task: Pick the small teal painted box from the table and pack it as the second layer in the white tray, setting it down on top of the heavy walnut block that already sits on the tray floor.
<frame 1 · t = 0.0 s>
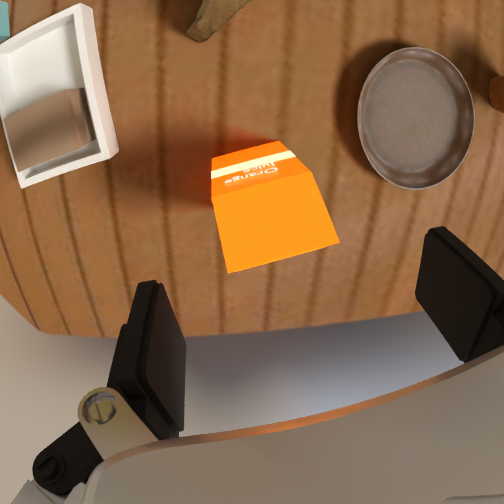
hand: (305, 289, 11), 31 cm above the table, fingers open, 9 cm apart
rock: (216, 4, 29), on the table
white tray: (56, 95, 31), on the table
disposable coffee cup: (497, 93, 36), on the table
orange juice: (252, 175, 41), on the table
walnut block: (59, 124, 32), point 1 cm above the table, touching white tray
plant saucer: (411, 116, 38), on the table
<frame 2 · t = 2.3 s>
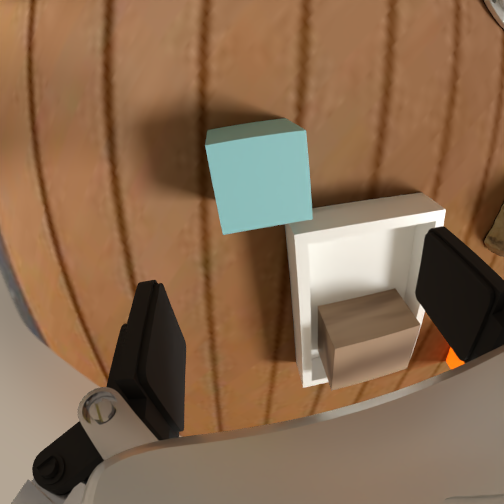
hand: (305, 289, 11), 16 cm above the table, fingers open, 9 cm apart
teal box: (252, 159, 24), on the table
white tray: (355, 288, 32), on the table
orange juice: (469, 337, 42), on the table
walnut block: (355, 320, 34), point 1 cm above the table, touching white tray
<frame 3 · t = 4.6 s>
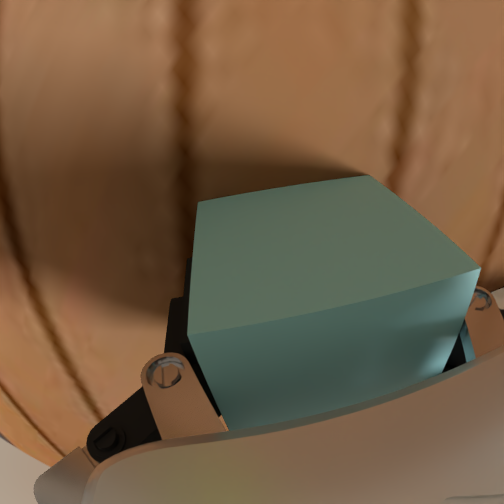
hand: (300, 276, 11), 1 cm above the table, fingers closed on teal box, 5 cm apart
teal box: (294, 261, 12), on the table, touching gripper
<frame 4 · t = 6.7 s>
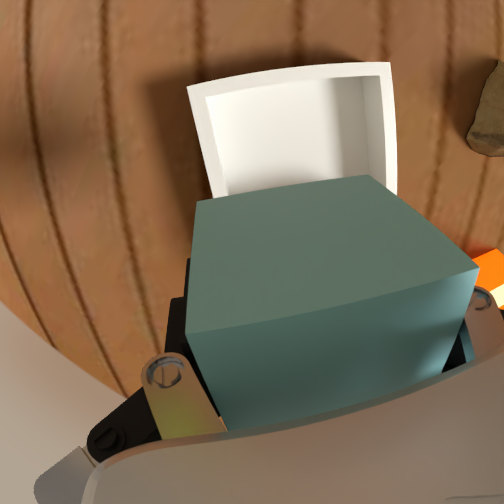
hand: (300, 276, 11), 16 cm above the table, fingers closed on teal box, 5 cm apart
rock: (486, 105, 23), on the table
teal box: (293, 260, 12), point 15 cm above the table, touching gripper
white tray: (300, 186, 26), on the table
orange juice: (470, 279, 35), on the table
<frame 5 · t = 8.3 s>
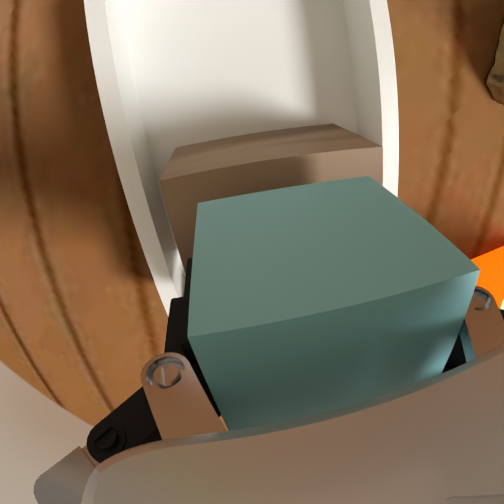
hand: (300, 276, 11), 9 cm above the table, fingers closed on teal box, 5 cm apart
teal box: (294, 262, 12), point 9 cm above the table, touching gripper
white tray: (253, 122, 17), on the table
orange juice: (487, 277, 27), on the table
walnut block: (264, 190, 19), point 1 cm above the table, touching white tray
when the fingers open (9 cm above the table, at t = 9.1 s): teal box drops 2 cm, resting on walnut block.
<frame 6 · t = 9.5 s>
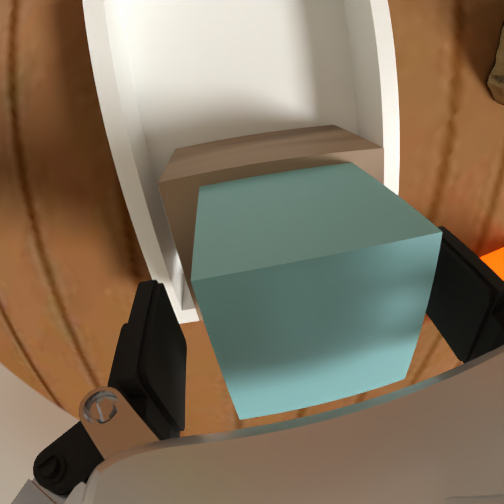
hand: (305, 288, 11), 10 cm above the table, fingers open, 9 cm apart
teal box: (286, 240, 13), point 7 cm above the table, touching walnut block
white tray: (253, 123, 17), on the table
orange juice: (487, 278, 27), on the table
walnut block: (264, 191, 18), point 1 cm above the table, touching white tray, teal box
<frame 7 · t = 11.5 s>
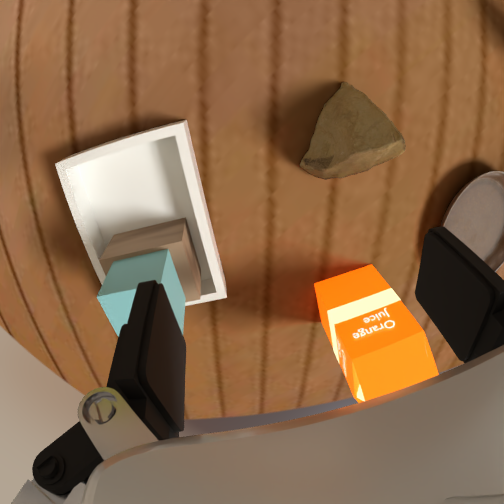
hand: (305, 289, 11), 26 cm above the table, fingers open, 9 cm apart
rock: (328, 130, 33), on the table
teal box: (149, 280, 31), point 7 cm above the table, touching walnut block
white tray: (148, 219, 35), on the table
orange juice: (345, 293, 44), on the table
walnut block: (157, 252, 37), point 1 cm above the table, touching white tray, teal box
plant saucer: (473, 225, 42), on the table
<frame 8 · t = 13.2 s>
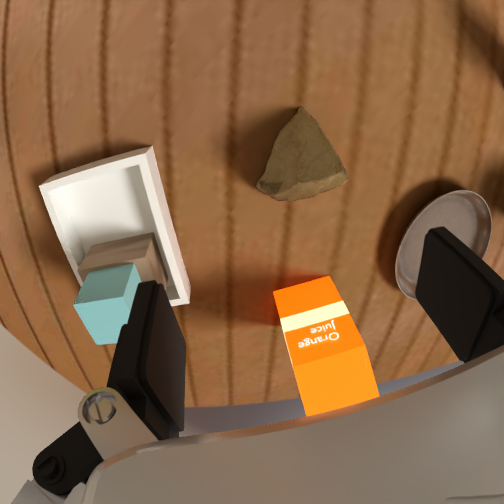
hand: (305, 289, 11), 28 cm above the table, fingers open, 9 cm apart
rock: (284, 153, 37), on the table
teal box: (120, 288, 35), point 7 cm above the table, touching walnut block
white tray: (121, 232, 39), on the table
orange juice: (304, 301, 49), on the table
walnut block: (129, 261, 40), point 1 cm above the table, touching white tray, teal box
plant saucer: (438, 240, 46), on the table
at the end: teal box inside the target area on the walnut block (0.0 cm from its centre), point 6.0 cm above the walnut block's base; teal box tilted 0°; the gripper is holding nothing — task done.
